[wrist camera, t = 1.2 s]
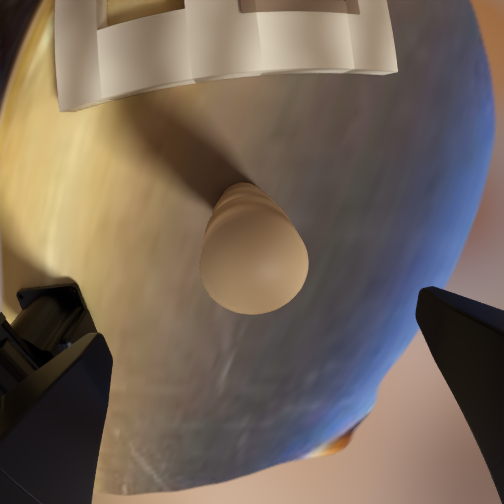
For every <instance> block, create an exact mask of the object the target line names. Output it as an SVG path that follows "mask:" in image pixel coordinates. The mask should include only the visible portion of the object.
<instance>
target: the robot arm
mask: <svg viewBox="0 0 504 504" xmlns="http://www.w3.org/2000/svg"><path fill="white" fill-rule="evenodd" d="M72 289H73V290H74V291H75V292H73V291H72ZM17 298H18V301H19V303H20V305H21V308H22V311H21V313H20V314H19V315H18V316H17V317H16V319H15V320H14V321H13V322H12V323H11V325H10V324H9V323H8V322H7V320H6V317H5V316H4V315H3V313H2V312H0V504H91V503H92V495H93V488H94V481H95V474H96V468H97V462H98V456H99V450H100V444H101V439H102V434H103V429H104V424H105V419H106V414H107V408H108V401H109V392H110V383H111V374H112V366H113V358H112V355H111V352H110V350H109V348H108V345H107V343H106V341H105V338H104V336H103V335H102V334H101V333H98V332H97V330H96V327H95V325H94V322H93V320H92V317H91V315H90V312H89V310H88V309H87V307H86V305H85V302H84V299H83V297H82V294H81V291H80V288H79V287H78V285H76V284H74V283H70V284H62V285H53V286H44V287H35V288H26V289H20V290H19V291H18V292H17ZM415 314H416V320H417V323H418V325H419V327H420V329H421V331H422V334H423V336H424V338H425V340H426V342H427V345H428V347H429V349H430V352H431V354H432V356H433V358H434V360H435V362H436V364H437V366H438V368H439V369H440V371H441V373H442V375H443V377H444V379H445V380H446V382H447V384H448V386H449V388H450V389H451V391H452V393H453V395H454V397H455V399H456V401H457V403H458V405H459V407H460V409H461V411H462V413H463V415H464V417H465V419H466V421H467V423H468V425H469V427H470V429H471V431H472V433H473V435H474V438H475V440H476V442H477V444H478V446H479V448H480V451H481V453H482V455H483V457H484V459H485V462H486V464H487V466H488V469H489V471H490V474H491V476H492V479H493V481H494V484H495V486H496V489H497V491H498V494H499V497H500V499H501V502H502V504H504V310H501V309H498V308H495V307H492V306H489V305H486V304H484V303H481V302H478V301H475V300H472V299H469V298H466V297H463V296H461V295H458V294H455V293H452V292H449V291H446V290H443V289H440V288H437V287H434V286H430V287H426V288H422V289H421V290H420V292H419V295H418V301H417V307H416V313H415Z"/></svg>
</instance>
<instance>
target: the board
mask: <svg viewBox="0 0 504 504" xmlns="http://www.w3.org/2000/svg"><path fill="white" fill-rule="evenodd" d="M184 1H185V9H180V10H175V11H169V12H164V13H160V14H155V15H151V16H146V17H142V18H138V19H134V20H131V21H127V22H123V23H120V24H116V25H113V26H110V27H108V21H107V0H55V63H56V79H57V91H58V101H59V110H60V112H76V111H79V110H82V109H85V108H88V107H92V106H95V105H99V104H102V103H106V102H109V101H113V100H117V99H121V98H125V97H129V96H133V95H137V94H142V93H146V92H151V91H155V90H160V89H165V88H171V87H176V86H181V85H187V84H193V83H200V82H207V81H214V80H221V79H230V78H239V77H249V76H261V75H275V74H296V73H354V74H374V75H386V74H391V73H395V72H398V68H397V60H396V53H395V46H394V39H393V33H392V27H391V22H390V16H389V11H388V6H387V1H386V0H184Z"/></svg>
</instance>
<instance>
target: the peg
mask: <svg viewBox="0 0 504 504" xmlns="http://www.w3.org/2000/svg"><path fill="white" fill-rule="evenodd" d="M307 272H308V254H307V250H306V247H305V245H304V243H303V241H302V239H301V238H300V236H299V234H298V233H297V231H296V230H295V228H294V226H293V225H292V223H291V221H290V220H289V218H288V217H287V215H286V213H285V212H284V211H283V210H282V209H281V208H280V207H279V206H278V205H276V204H275V203H274V201H273V200H272V199H271V197H270V196H268V195H267V194H266V193H265V192H263V191H261V189H259V188H258V187H257V186H255V185H253V184H251V183H246V182H240V183H236V184H233V185H231V186H230V187H228V188H227V189H226V190H225V191H224V192H223V194H222V195H221V198H220V199H219V201H218V202H217V203H216V205H215V207H214V210H213V214H212V216H211V218H210V220H209V222H208V224H207V227H206V231H205V236H204V241H203V247H202V252H201V258H200V276H201V280H202V283H203V285H204V287H205V289H206V291H207V292H208V294H209V295H210V296H211V297H212V298H213V299H214V300H215V301H216V302H217V303H218V304H220V305H221V306H223V307H225V308H227V309H229V310H231V311H234V312H237V313H242V314H262V313H267V312H270V311H273V310H276V309H278V308H280V307H282V306H283V305H285V304H286V303H288V302H289V301H290V300H291V299H292V298H294V297H295V295H296V294H297V293H298V292H299V290H300V289H301V287H302V286H303V284H304V282H305V279H306V276H307Z"/></svg>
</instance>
